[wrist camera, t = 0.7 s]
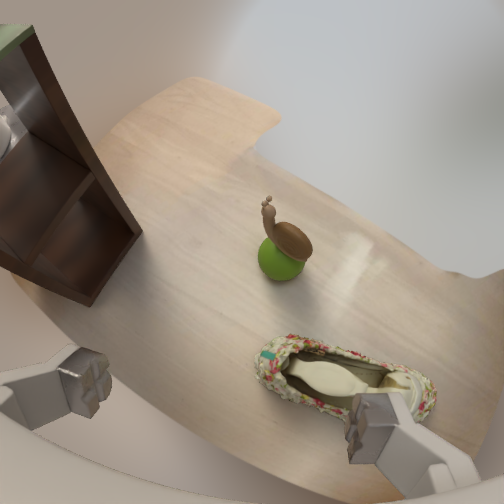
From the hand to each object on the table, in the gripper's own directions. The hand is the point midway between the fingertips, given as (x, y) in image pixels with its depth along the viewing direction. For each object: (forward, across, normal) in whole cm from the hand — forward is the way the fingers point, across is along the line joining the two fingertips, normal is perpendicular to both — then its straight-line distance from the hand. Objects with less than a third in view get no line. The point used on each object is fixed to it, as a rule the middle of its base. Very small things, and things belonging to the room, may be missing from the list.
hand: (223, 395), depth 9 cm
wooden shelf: (+26, +24, +3) cm, 35 cm away
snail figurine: (+29, -1, +3) cm, 30 cm away
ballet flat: (+22, -12, +16) cm, 30 cm away
